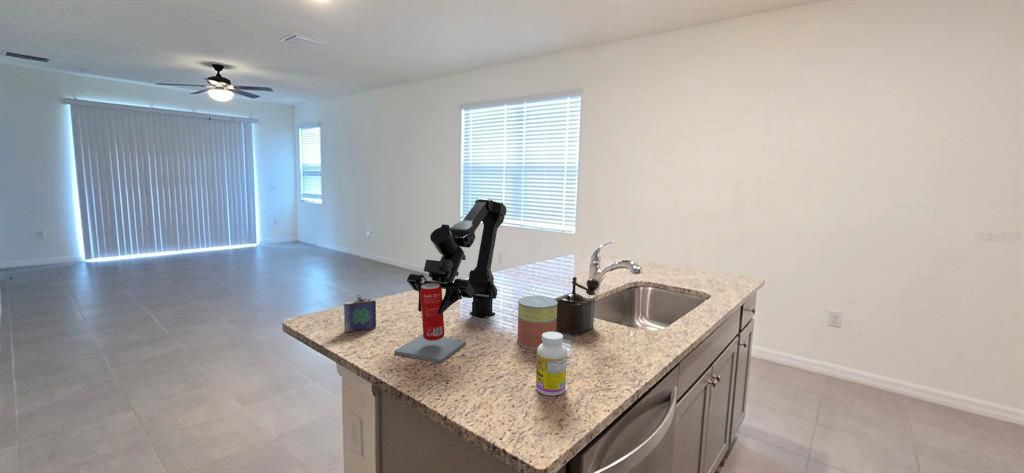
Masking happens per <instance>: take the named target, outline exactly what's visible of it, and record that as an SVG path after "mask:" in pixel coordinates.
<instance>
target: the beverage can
mask: <svg viewBox="0 0 1024 473" xmlns="http://www.w3.org/2000/svg"><path fill="white" fill-rule="evenodd" d="M420 298H421V322H422V323H421V325H422V334H423V338H424V339H425V340H427V341H437V340H440V339H442V338H443V337H445V334H446V333H445V323H444V322H445V320H444V312H443V313H442V314H441V315H439V314H438V311H439V308H440V305H441V303H442V300H443V289H441V287H440V284H438V283H427V284H423V285H422V286H421V290H420Z"/></svg>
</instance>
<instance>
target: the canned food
mask: <svg viewBox="0 0 1024 473" xmlns="http://www.w3.org/2000/svg"><path fill="white" fill-rule="evenodd" d="M517 302H518V308H517V309H518V310H517V313H518V314H517V338H516V342H517V344H518V345H520V346H522V347H524V348H527V349H532V350H537V349H538V347H539V345H540V344H542V343H543V342H542V334H543V333H545V332H557V330H556V325H557V304H558V302H557V301H556V300H555V298H552V297H548V296H541V295H529V296H524V297H520V298H519V299H518V300H517Z"/></svg>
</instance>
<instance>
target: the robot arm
mask: <svg viewBox="0 0 1024 473" xmlns="http://www.w3.org/2000/svg"><path fill="white" fill-rule="evenodd" d="M506 215H507V206H506V205H505V204H504V203H503V202H500V201H493V200H492V199H490V198H476V200H475V202H474V204H473V206H472V207H471V209H470V210H469V211H468V213H466V215H465V216H464V218H463V220H461V221H459V222H457V223H454V225H453V226H451V227H450V225H449V224H441V226H440V227H438V228H435V229H434V230H433V231H432V232H431V233H430V235H429V236H430V238H429V239H430V241H431V243H432V244H433V246H434V248H435V250H437V252H438V253H439V254H440V255H441V257H440V259H439V260H435V259H434V260H433V259H425V263H424V267H423V272H425V273H426V272H427V273H428V277H429V278H431V279H427V278H426V277H425V275H424V274H422V273H415V272H412V273H409V275H408V277H407V279H406V282H407V283H408V284H409V286H410V287H411V289H412V290H414V291H416V292H418V305H417V306H418V307H417V308H418V312H421V298H420V290H421V286H422V285H423V284H427V283H438V284H440V287H441V289H442V290H445V294H444V296H443V297H442V303H441V305H440V308H439V311H438V314H439V315H441V314H442V313H443V314H444V312H446V311H447V309H449V308H450V307H451V306H452V305H454V304H455V303H456V302H457V301H459V300H460V301H461V300H462V299H463V298H467V299H472V302H471V311H469V314H470V315H472V316H475V317H477V318H480V319H482V318H487V317H491V316H493V315H496V312H494V311H493V300H495V299H497V295H498V288H497V287H496V285H495V283H494V282H495V277H494V275H493V272H492V269H491V268H492V263H493V257H494V251H495V245H496V239H497V233H498V232H497V231H498V229H499V227H500V226H501V225H502V224H503V223H504V220H505V217H506ZM481 223H482V225H483V228H482V233H481V239H480V246H479V250H478V257H477V262H476V266H475V268H473V270H471V269H470V270H469V272H468V273H469V274H468V275H469V276H468V279H464V278H456V277H458V276H459V272H458V270H459V267H460V266H461V264H462V261H466V260H467V259H466V255H465V251H464V249H463V248H467V249H468V248H471V247H472V245H473V244H474V242H475V240H476V233H475V232H476V230H477V228H479V226H480V224H481ZM421 313H422V312H421Z"/></svg>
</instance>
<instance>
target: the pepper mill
mask: <svg viewBox="0 0 1024 473" xmlns="http://www.w3.org/2000/svg"><path fill="white" fill-rule="evenodd" d="M577 280H578V279H577V277H576V276H574V277H572V281H571V284H572V291H571V292H570V293H567V294H563V295H560V296H559V297H555V298H554V299H555V300H556V301H557V302H558V304H557V325H556V332H559V333H560V332H561V333H564V334H569V335H573V336H581V335H584V334H586V333H588V332H590V331H591V330H592V329H593V328H594V326H595V325H594V322H595V319H594V318H595V307H596V306H595V305H596V299H592V298H588V297H584V296H582V295H581V294H578V293H577V292H576V287H577V288H580V289H582V290H584V291H585V293H586V294H587V295H588V296H595V295H596V290H597V289H598V288H599V287H600V282H599V281H598V280H597V279H596V278H589V279H587V280H586V286H584V285H582V284H579V283H578V282H577ZM589 330H590V331H589Z"/></svg>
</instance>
